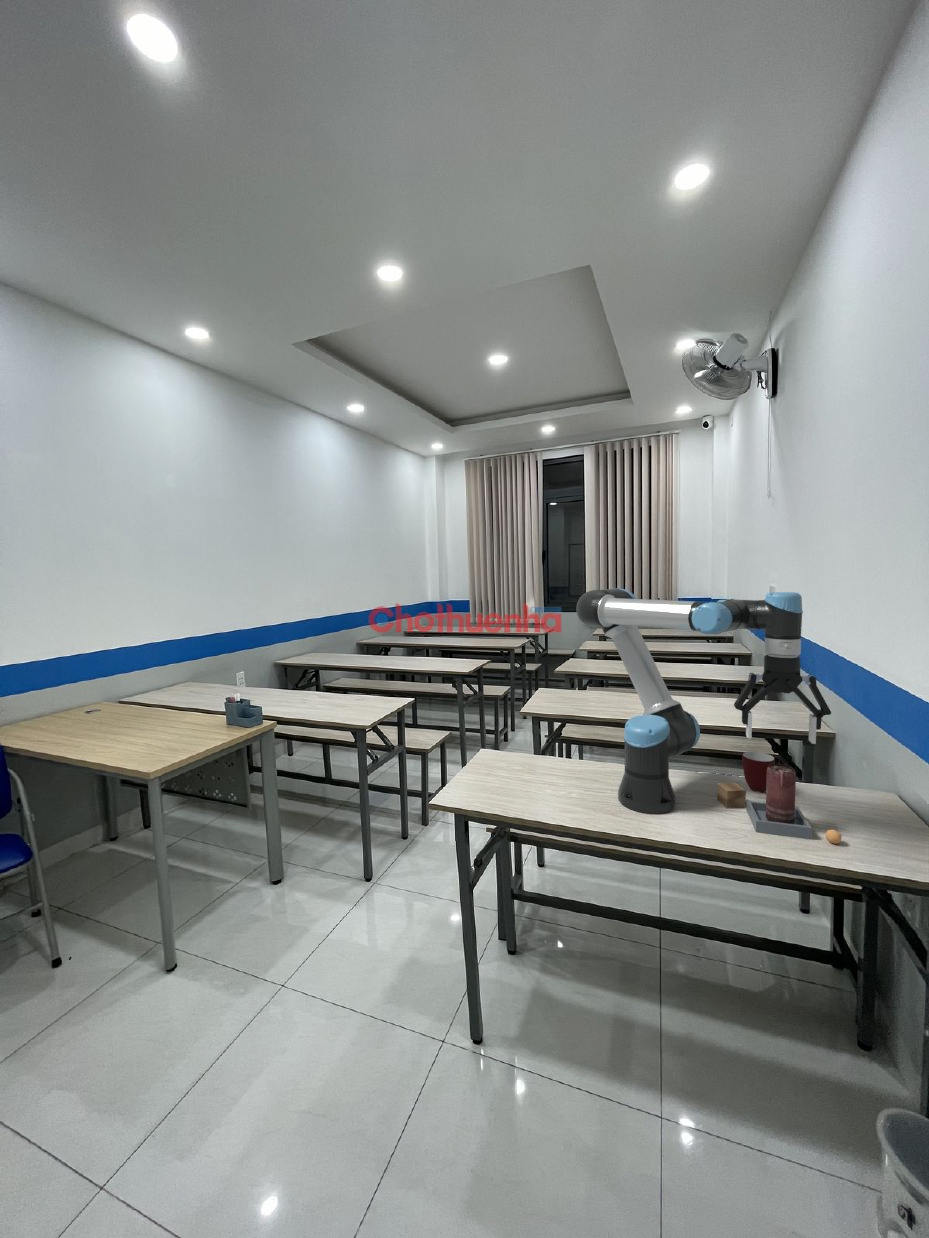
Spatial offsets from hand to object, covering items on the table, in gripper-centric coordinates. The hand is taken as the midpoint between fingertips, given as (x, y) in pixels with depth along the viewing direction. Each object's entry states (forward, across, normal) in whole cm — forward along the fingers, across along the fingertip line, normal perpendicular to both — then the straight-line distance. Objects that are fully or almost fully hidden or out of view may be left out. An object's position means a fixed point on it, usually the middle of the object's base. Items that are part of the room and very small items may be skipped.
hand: (779, 739), depth 122 cm
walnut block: (+22, -9, +9) cm, 25 cm away
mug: (+22, +1, +21) cm, 30 cm away
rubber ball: (+20, +10, -6) cm, 23 cm away
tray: (+22, 0, 0) cm, 22 cm away
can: (+21, 0, 0) cm, 21 cm away
